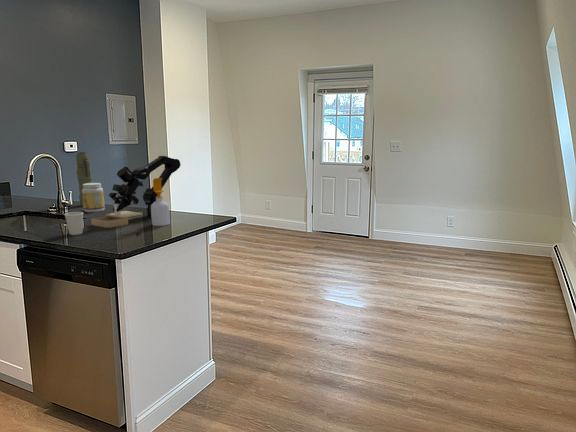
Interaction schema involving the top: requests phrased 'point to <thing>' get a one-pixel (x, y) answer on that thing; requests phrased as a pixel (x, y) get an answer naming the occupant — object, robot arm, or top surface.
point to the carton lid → (122, 213)
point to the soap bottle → (159, 206)
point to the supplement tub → (93, 197)
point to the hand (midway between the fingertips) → (115, 210)
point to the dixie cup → (74, 222)
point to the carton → (109, 221)
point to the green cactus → (83, 172)
